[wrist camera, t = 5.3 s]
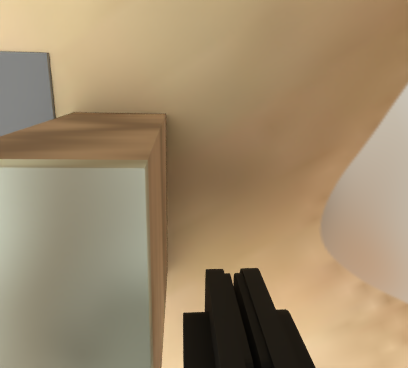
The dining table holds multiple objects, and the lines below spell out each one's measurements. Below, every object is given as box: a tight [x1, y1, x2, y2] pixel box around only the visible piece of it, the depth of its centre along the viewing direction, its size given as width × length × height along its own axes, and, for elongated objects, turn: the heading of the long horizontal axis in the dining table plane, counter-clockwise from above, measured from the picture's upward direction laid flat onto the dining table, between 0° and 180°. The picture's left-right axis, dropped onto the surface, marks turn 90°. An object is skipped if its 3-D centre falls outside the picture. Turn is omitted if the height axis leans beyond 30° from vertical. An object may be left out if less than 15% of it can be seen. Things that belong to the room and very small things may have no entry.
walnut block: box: [0, 112, 167, 368], centre depth 15 cm, size 5×10×12 cm, turn 179°
